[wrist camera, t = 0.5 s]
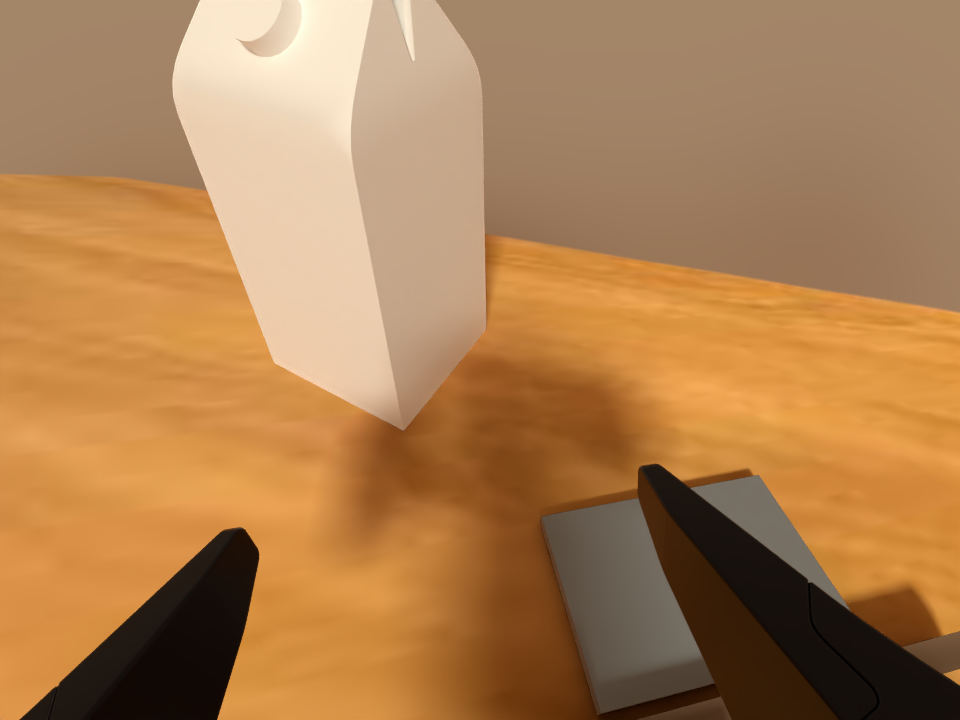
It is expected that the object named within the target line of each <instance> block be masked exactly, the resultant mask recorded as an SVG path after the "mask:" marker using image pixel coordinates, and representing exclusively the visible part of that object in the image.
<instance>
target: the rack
mask: <svg viewBox="0 0 960 720" xmlns="http://www.w3.org/2000/svg"><path fill="white" fill-rule="evenodd" d="M903 648H904V649H906V650H907V651H909V652H910V653H912V654H913V655H915V656H916V657H918V658H919V659H921V660H922V661H924V662H925V663H927V664H928V665H930V666H931V667H933V668H934V669H936V670H937V671H939V672H940V673H942V674H944V673H947V672H951V671H954V670H957V669H960V631H959V632H955V633H952V634H948V635H944V636H940V637H937V638H933V639H929V640H926V641H922V642H918V643H915V644H911V645H907V646H904V647H903ZM637 720H732V719H731V717H730V715H729V713H728V711H727V709H726V706H725V704H724V702H723V700H722V698H721V697H717V698H714V699H710V700H706V701H703V702H699V703H695V704H692V705H688V706H684V707H681V708H677V709H673V710H670V711H666V712H662V713H659V714H655V715H651V716H648V717H644V718H640V719H637Z"/></svg>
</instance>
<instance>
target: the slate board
mask: <svg viewBox="0 0 960 720" xmlns="http://www.w3.org/2000/svg"><path fill="white" fill-rule="evenodd" d="M691 489H692V490H693V491H695V492H696V493H697V494H698V495H700V496H701V497H702V498H704V499H705V500H706V501H708V502H709V503H710V504H711V505H713V506H714V507H715V508H717V509H718V510H719V511H720V512H722V513H723V514H724V515H726V516H727V517H728V518H730V519H731V520H732V521H733V522H735V523H736V524H737V525H739V526H740V527H741V528H743V529H744V530H745V531H746V532H748V533H749V534H750V535H752V536H753V537H754V538H756V539H757V540H758V541H759V542H761V543H762V544H763V545H765V546H766V547H767V548H768V549H770V550H771V551H772V552H774V553H775V554H776V555H778V556H779V557H780V558H781V559H783V560H784V561H785V562H787V563H788V564H789V565H791V566H792V567H793V568H794V569H796V570H797V571H798V572H800V573H801V574H802V575H804V576H805V577H806V578H807V579H808V582H813V583H814V584H815V585H817V586H818V587H819V588H821V589H822V590H823V591H825V592H826V593H827V594H828V595H830V596H831V597H832V598H834V599H835V600H836V601H838V602H839V603H840V604H842V605H843V606H844V607H846V608H847V609H849V608H848V606H847V605H846V603H845V602H844V600H843V599H842V597H841V596H840V594H839V593H838V591H837V590H836V588H835V587H834V585H833V584H832V583H831V581H830V580H829V578H828V577H827V575H826V574H825V572H824V571H823V569H822V568H821V566H820V565H819V563H818V562H817V560H816V559H815V557H814V556H813V554H812V553H811V552H810V550H809V549H808V547H807V546H806V544H805V543H804V541H803V540H802V538H801V537H800V535H799V534H798V532H797V531H796V529H795V528H794V526H793V525H792V523H791V522H790V521H789V519H788V518H787V516H786V515H785V513H784V512H783V510H782V509H781V507H780V506H779V504H778V503H777V501H776V500H775V498H774V497H773V495H772V494H771V492H770V491H769V490H768V488H767V487H766V485H765V484H764V482H763V481H762V479H761V478H760V476H759V475H756V476H751V477H745V478H740V479H735V480H730V481H724V482H719V483H714V484H709V485H704V486H698V487H693V488H691ZM540 524H541V527H542V531H543V534H544V537H545V541H546V544H547V548H548V551H549V554H550V558H551V561H552V564H553V568H554V571H555V574H556V578H557V581H558V585H559V588H560V591H561V595H562V598H563V601H564V605H565V608H566V612H567V615H568V618H569V622H570V625H571V628H572V632H573V635H574V639H575V642H576V645H577V649H578V652H579V655H580V659H581V662H582V666H583V669H584V672H585V676H586V679H587V682H588V686H589V689H590V693H591V696H592V699H593V703H594V706H595V709H596V713H597V715H599V714H603V713H607V712H611V711H614V710H618V709H622V708H625V707H629V706H633V705H637V704H640V703H644V702H648V701H652V700H655V699H659V698H663V697H667V696H670V695H674V694H678V693H681V692H685V691H689V690H693V689H696V688H700V687H704V686H708V685H711V684H715V683H714V680H713V678H712V676H711V674H710V672H709V670H708V668H707V665H706V663H705V661H704V659H703V657H702V655H701V652H700V650H699V648H698V646H697V644H696V642H695V639H694V637H693V635H692V633H691V631H690V629H689V627H688V624H687V622H686V620H685V618H684V616H683V614H682V611H681V609H680V607H679V605H678V603H677V601H676V598H675V596H674V594H673V592H672V590H671V588H670V586H669V583H668V581H667V579H666V577H665V574H664V572H663V570H662V567H661V564H660V561H659V559H658V556H657V553H656V550H655V547H654V544H653V541H652V538H651V535H650V532H649V529H648V526H647V523H646V520H645V517H644V514H643V511H642V508H641V505H640V502H639V498H635V499H630V500H625V501H620V502H614V503H609V504H604V505H599V506H593V507H588V508H583V509H578V510H572V511H567V512H562V513H557V514H551V515H546V516H542V517H541V520H540ZM849 610H850V609H849Z"/></svg>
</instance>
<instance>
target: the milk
mask: <svg viewBox="0 0 960 720" xmlns="http://www.w3.org/2000/svg"><path fill="white" fill-rule="evenodd" d="M173 98H174V102H175V105H176V109H177V113H178V116H179V118H180V121H181V123H182V126H183V128H184V131H185V134H186V136H187V139H188V141H189V144H190V147H191V149H192V152H193V154H194V157H195V160H196V162H197V165H198V167H199V170H200V173H201V175H202V178H203V180H204V183H205V186H206V188H207V191H208V193H209V196H210V198H211V201H212V204H213V206H214V209H215V211H216V214H217V217H218V219H219V222H220V224H221V227H222V229H223V232H224V235H225V237H226V240H227V242H228V245H229V248H230V250H231V253H232V255H233V258H234V260H235V263H236V266H237V268H238V271H239V273H240V276H241V278H242V281H243V284H244V286H245V289H246V291H247V294H248V297H249V299H250V302H251V304H252V307H253V309H254V312H255V315H256V317H257V320H258V322H259V325H260V328H261V330H262V333H263V335H264V338H265V340H266V343H267V346H268V348H269V351H270V353H271V356H272V359H273V361H274V363H275V364H277V365H279V366H281V367H283V368H285V369H287V370H289V371H291V372H292V373H294V374H296V375H298V376H300V377H302V378H304V379H306V380H308V381H310V382H311V383H313V384H315V385H317V386H319V387H321V388H323V389H325V390H327V391H329V392H330V393H332V394H334V395H336V396H338V397H340V398H342V399H344V400H346V401H348V402H349V403H351V404H353V405H355V406H357V407H359V408H361V409H363V410H365V411H367V412H368V413H370V414H372V415H374V416H376V417H378V418H380V419H382V420H384V421H385V422H387V423H389V424H391V425H393V426H395V427H397V428H399V429H401V430H403V431H404V430H405V429H406V428H407V427H408V425H409V424H410V423H411V422H412V420H413V419H414V418H415V417H416V416H417V414H418V413H419V412H420V411H421V409H422V408H423V407H424V406H425V404H426V403H427V402H428V401H429V400H430V398H431V397H432V396H433V395H434V393H435V392H436V391H437V390H438V388H439V387H440V386H441V385H442V384H443V382H444V381H445V380H446V379H447V377H448V376H449V375H450V374H451V372H452V371H453V370H454V369H455V368H456V366H457V365H458V364H459V363H460V361H461V360H462V359H463V358H464V356H465V355H466V354H467V353H468V352H469V350H470V349H471V348H472V347H473V345H474V344H475V343H476V342H477V340H478V339H479V338H480V337H481V336H482V334H483V333H484V332H485V331H486V280H485V229H484V228H485V226H484V178H483V177H484V175H483V122H482V121H483V120H482V90H481V80H480V76H479V72H478V68H477V65H476V63H475V61H474V58H473V56H472V54H471V52H470V51H469V49H468V47H467V46H466V44H465V43H464V41H463V40H462V38H461V37H460V35H459V34H458V32H457V31H456V29H455V28H454V27H453V25H452V24H451V22H450V21H449V19H448V18H447V17H446V15H445V14H444V12H443V11H442V9H441V8H440V6H439V5H438V4H437V2H436V1H435V0H200V2H199V4H198V6H197V9H196V11H195V13H194V16H193V18H192V21H191V23H190V25H189V28H188V30H187V32H186V35H185V37H184V39H183V42H182V44H181V47H180V50H179V53H178V56H177V59H176V62H175V68H174V74H173Z"/></svg>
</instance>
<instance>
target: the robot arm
mask: <svg viewBox="0 0 960 720" xmlns="http://www.w3.org/2000/svg"><path fill="white" fill-rule="evenodd" d="M638 498H639V502H640V505H641V508H642V511H643V514H644V517H645V520H646V523H647V526H648V529H649V532H650V535H651V538H652V541H653V544H654V547H655V550H656V553H657V556H658V559H659V561H660V564H661V567H662V570H663V572H664V574H665V577H666V579H667V581H668V583H669V586H670V588H671V590H672V592H673V594H674V596H675V598H676V601H677V603H678V605H679V607H680V609H681V611H682V614H683V616H684V618H685V620H686V622H687V624H688V627H689V629H690V631H691V633H692V635H693V637H694V639H695V642H696V644H697V646H698V648H699V650H700V652H701V655H702V657H703V659H704V661H705V663H706V665H707V668H708V670H709V672H710V674H711V676H712V678H713V680H714V683H715V685H716V687H717V689H718V691H719V693H720V696H721V698H722V700H723V702H724V704H725V706H726V709H727V711H728V713H729V715H730V717H731V719H732V720H960V685H958V684H957V683H955V682H954V681H952V680H951V679H949V678H948V677H946V676H945V675H943V674H942V673H940V672H939V671H937V670H936V669H934V668H933V667H931V666H930V665H928V664H927V663H925V662H924V661H922V660H921V659H919V658H918V657H916V656H915V655H913V654H912V653H910V652H909V651H907V650H906V649H904V648H903V647H901V646H900V645H898V644H897V643H895V642H894V641H892V640H891V639H890V638H888V637H887V636H885V635H884V634H882V633H881V632H879V631H878V630H876V629H875V628H873V627H872V626H871V625H869V624H868V623H866V622H865V621H863V620H862V619H861V618H859V617H858V616H857V615H855V614H854V613H853V612H851V611H850V610H849V609H847V608H846V607H844V606H843V605H842V604H840V603H839V602H838V601H836V600H835V599H834V598H832V597H831V596H830V595H828V594H827V593H826V592H825V591H823V590H822V589H821V588H819V587H818V586H817V585H815V584H814V583H813V582H808V579H807V578H806V577H805V576H804V575H802V574H801V573H800V572H798V571H797V570H796V569H794V568H793V567H792V566H791V565H789V564H788V563H787V562H785V561H784V560H783V559H781V558H780V557H779V556H778V555H776V554H775V553H774V552H772V551H771V550H770V549H768V548H767V547H766V546H765V545H763V544H762V543H761V542H759V541H758V540H757V539H756V538H754V537H753V536H752V535H750V534H749V533H748V532H746V531H745V530H744V529H743V528H741V527H740V526H739V525H737V524H736V523H735V522H733V521H732V520H731V519H730V518H728V517H727V516H726V515H724V514H723V513H722V512H720V511H719V510H718V509H717V508H715V507H714V506H713V505H711V504H710V503H709V502H708V501H706V500H705V499H704V498H702V497H701V496H700V495H698V494H697V493H696V492H695V491H693V490H692V489H691V488H689V487H688V486H687V485H685V484H684V483H683V482H682V481H680V480H679V479H678V478H676V477H675V476H674V475H672V474H671V473H670V472H669V471H667V470H666V469H665V468H663V467H662V466H661V465H659V464H650V465H643V466H640V467H639V470H638ZM258 562H259V551H258V548H257V547H256V545H255V544H254V542H253V541H252V539H251V538H250V536H249V535H248V533H247V532H246V530H245V529H243V528H241V527H238V528H232V529H226V530H223V531H222V532H220V533H219V534H218V535H217V536H216V537H215V538H214V539H213V540H212V541H211V542H209V543H208V544H207V545H206V546H205V547H204V548H203V549H202V550H201V551H200V552H199V553H198V554H197V555H196V556H194V557H193V558H192V559H191V560H190V561H189V562H188V563H187V564H186V565H185V566H184V567H183V568H182V569H181V570H180V571H178V572H177V573H176V574H175V575H174V576H173V577H172V578H171V579H170V580H169V581H168V582H167V583H166V584H165V585H164V586H162V587H161V588H160V589H159V590H158V591H157V592H156V593H155V594H154V595H153V596H152V597H151V598H150V599H149V600H147V601H146V602H145V603H144V604H143V605H142V606H141V607H140V608H139V609H138V610H137V611H136V612H135V613H134V614H133V615H131V616H130V617H129V618H128V619H127V620H126V621H125V622H124V623H123V624H122V625H121V626H120V627H119V628H118V629H116V630H115V631H114V632H113V633H112V634H111V635H110V636H109V637H108V638H107V639H106V640H105V641H104V642H103V643H101V644H100V645H99V646H98V647H97V648H96V649H95V650H94V651H93V652H92V653H91V654H90V655H89V656H88V657H87V658H85V659H84V660H83V661H82V662H81V663H80V664H79V665H78V666H77V667H76V668H75V669H74V670H73V671H72V672H70V673H69V674H68V675H67V676H66V677H65V678H64V679H63V680H62V681H61V682H60V683H59V686H57V687H54V688H53V689H52V690H51V691H50V692H49V693H48V694H47V695H46V696H45V697H44V698H43V699H42V700H40V701H39V702H38V703H37V704H36V705H35V706H34V707H33V708H32V709H31V710H30V711H29V712H27V713H26V714H25V715H24V716H23V717H22V718H21V719H20V720H217V718H218V715H219V712H220V709H221V705H222V702H223V699H224V696H225V692H226V689H227V686H228V682H229V679H230V676H231V673H232V669H233V666H234V663H235V659H236V656H237V653H238V650H239V646H240V643H241V640H242V636H243V633H244V629H245V625H246V621H247V616H248V612H249V607H250V602H251V597H252V592H253V587H254V582H255V577H256V572H257V567H258Z"/></svg>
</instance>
